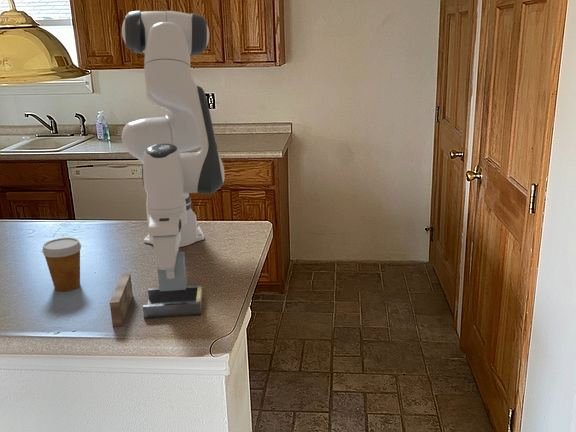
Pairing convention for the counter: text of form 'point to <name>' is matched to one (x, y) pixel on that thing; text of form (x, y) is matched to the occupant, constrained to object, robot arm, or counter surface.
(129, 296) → the brown wooden board
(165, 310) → the keeper
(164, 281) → the block
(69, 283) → the disposable coffee cup
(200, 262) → the counter surface
